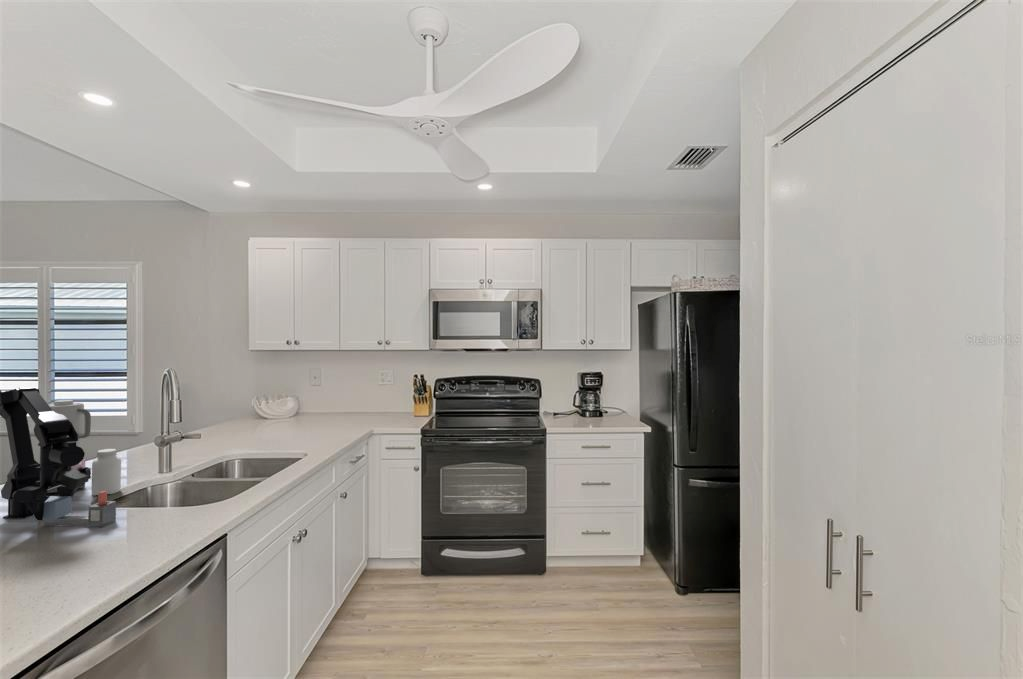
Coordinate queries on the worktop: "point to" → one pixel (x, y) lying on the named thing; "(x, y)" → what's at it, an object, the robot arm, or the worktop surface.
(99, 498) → the gauge button
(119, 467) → the pill bottle
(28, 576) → the worktop surface
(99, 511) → the end cabinet
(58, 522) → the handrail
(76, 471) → the robot arm
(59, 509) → the pale blue box
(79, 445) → the blender
